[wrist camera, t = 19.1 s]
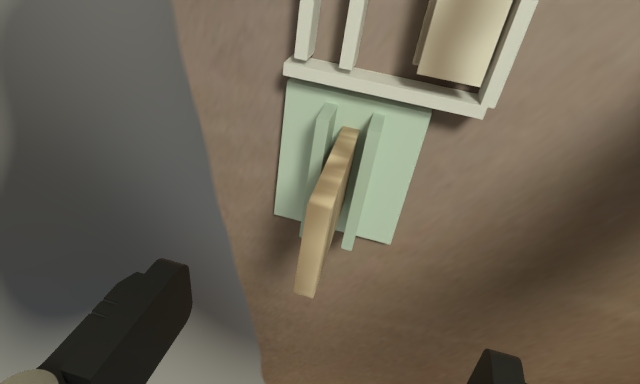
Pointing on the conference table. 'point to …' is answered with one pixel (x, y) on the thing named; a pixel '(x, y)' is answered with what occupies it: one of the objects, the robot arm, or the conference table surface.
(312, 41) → the rack
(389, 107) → the stand
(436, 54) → the offcut stack
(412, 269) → the conference table surface
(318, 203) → the wooden board
